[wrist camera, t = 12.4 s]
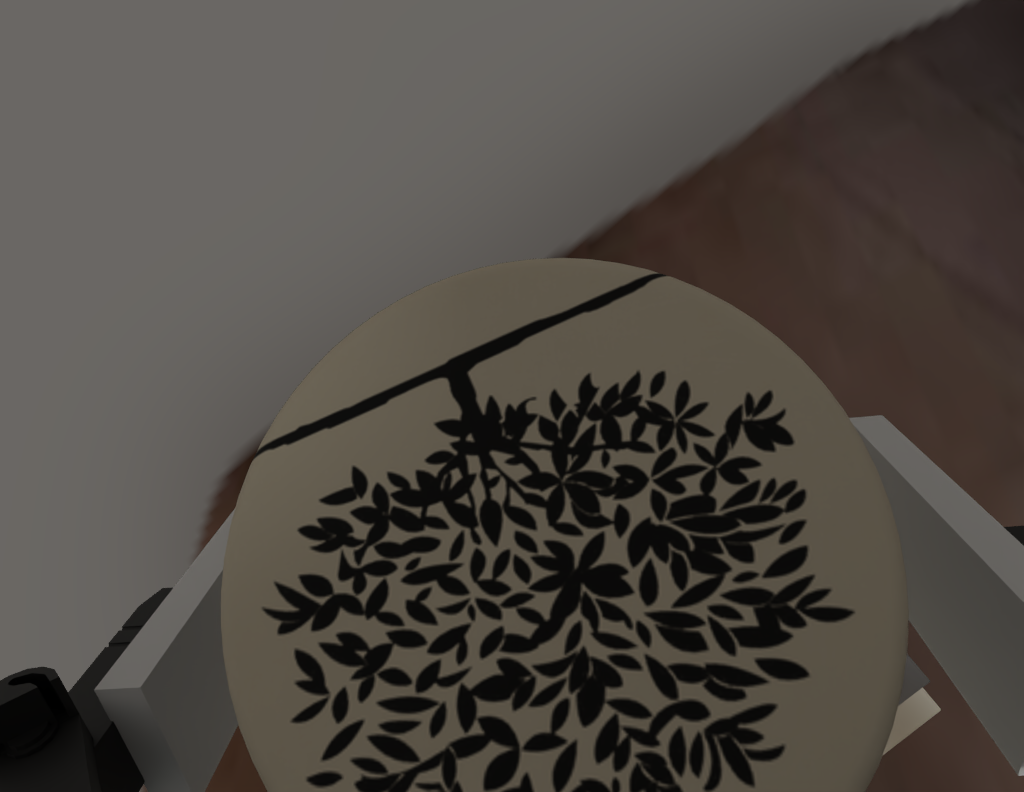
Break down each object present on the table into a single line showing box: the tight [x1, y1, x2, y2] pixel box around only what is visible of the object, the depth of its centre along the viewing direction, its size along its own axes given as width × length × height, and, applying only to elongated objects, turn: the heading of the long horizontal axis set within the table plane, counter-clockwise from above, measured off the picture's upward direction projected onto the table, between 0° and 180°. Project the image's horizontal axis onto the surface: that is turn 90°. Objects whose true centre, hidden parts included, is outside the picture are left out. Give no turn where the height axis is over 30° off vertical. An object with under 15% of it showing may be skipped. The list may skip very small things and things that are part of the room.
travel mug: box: [221, 258, 909, 792], centre depth 15 cm, size 8×8×18 cm
